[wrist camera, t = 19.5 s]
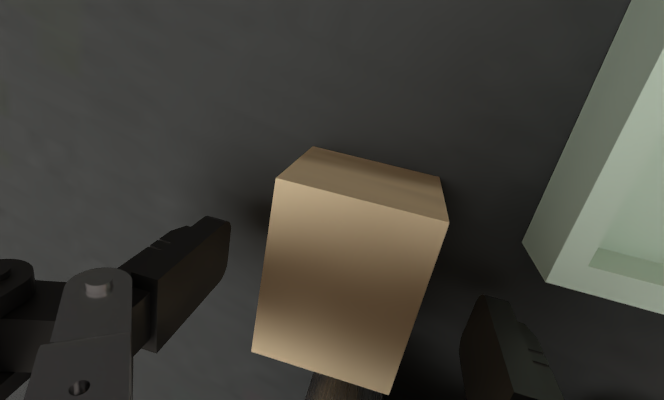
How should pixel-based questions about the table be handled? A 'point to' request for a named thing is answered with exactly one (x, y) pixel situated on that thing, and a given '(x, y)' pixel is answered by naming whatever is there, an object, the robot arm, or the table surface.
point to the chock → (347, 265)
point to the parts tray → (612, 177)
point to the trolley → (338, 390)
